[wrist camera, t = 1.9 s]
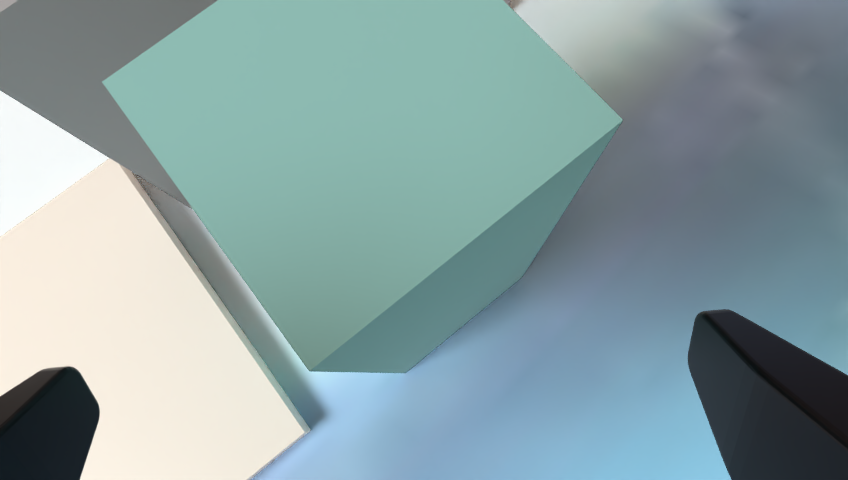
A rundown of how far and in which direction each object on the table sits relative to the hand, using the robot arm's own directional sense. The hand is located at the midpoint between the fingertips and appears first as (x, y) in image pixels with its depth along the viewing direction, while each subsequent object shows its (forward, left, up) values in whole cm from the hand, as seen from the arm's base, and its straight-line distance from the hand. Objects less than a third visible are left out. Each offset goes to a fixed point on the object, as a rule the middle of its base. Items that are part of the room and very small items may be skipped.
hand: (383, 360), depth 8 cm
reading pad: (+7, +10, -10) cm, 16 cm away
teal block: (+3, -2, -10) cm, 11 cm away
